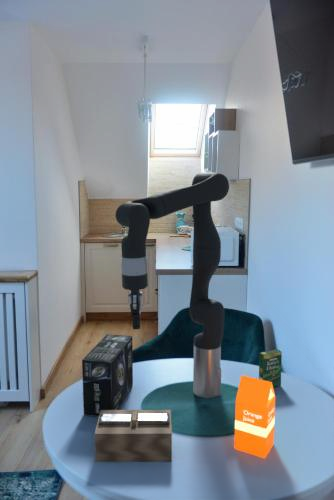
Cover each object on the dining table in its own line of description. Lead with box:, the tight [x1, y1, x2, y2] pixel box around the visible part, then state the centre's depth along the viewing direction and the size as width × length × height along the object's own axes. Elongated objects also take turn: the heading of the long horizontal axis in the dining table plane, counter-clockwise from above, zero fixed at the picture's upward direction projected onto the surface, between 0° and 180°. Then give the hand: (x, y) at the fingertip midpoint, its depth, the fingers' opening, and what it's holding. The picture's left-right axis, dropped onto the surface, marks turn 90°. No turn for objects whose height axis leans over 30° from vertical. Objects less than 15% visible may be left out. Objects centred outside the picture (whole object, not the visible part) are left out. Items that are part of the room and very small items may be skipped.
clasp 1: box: [97, 413, 131, 425], centre depth 121 cm, size 9×4×1 cm, turn 91°
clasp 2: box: [138, 413, 170, 425], centre depth 121 cm, size 9×4×1 cm, turn 91°
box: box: [81, 333, 134, 417], centre depth 148 cm, size 23×10×19 cm, turn 168°
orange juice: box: [233, 374, 276, 459], centre depth 121 cm, size 8×9×20 cm
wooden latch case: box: [94, 409, 173, 463], centre depth 121 cm, size 20×12×10 cm, turn 91°
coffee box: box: [258, 348, 283, 388], centre depth 158 cm, size 8×3×13 cm, turn 112°
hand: (136, 328), depth 132 cm, fingers closed
